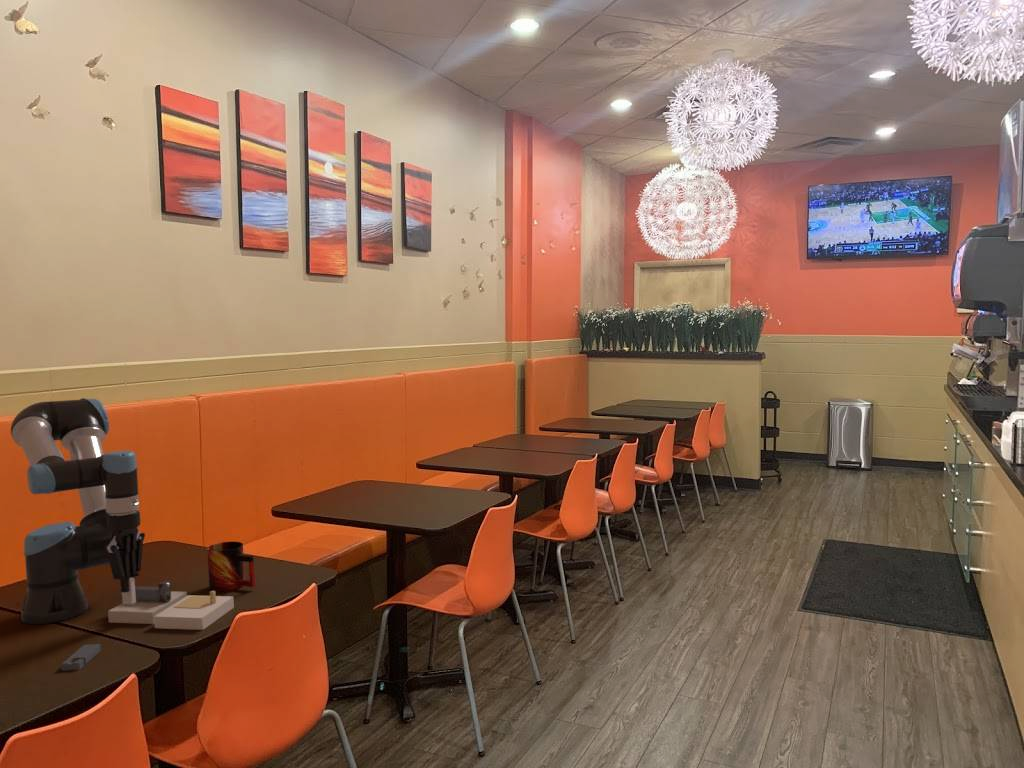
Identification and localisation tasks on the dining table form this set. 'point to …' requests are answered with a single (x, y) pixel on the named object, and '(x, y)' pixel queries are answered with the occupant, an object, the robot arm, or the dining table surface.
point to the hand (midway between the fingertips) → (129, 602)
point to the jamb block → (142, 610)
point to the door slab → (194, 612)
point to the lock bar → (153, 592)
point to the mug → (228, 567)
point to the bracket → (81, 657)
